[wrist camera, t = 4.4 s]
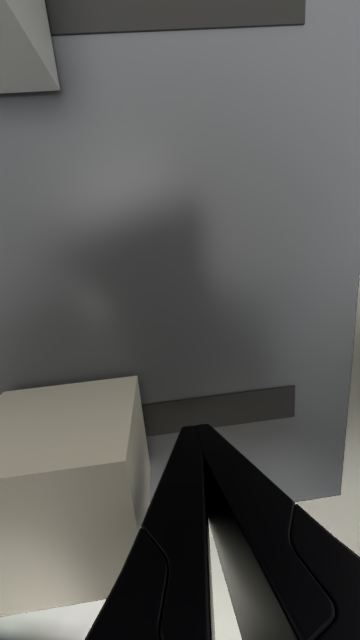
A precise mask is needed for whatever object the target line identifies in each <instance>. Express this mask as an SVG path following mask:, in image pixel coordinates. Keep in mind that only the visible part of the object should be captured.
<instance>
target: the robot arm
mask: <svg viewBox="0 0 360 640" xmlns="http://www.w3.org/2000/svg"><path fill="white" fill-rule="evenodd" d="M208 520H209V523H210V527H211V531H212V534H213V538H214V541H215V545H216V548H217V552H218V555H219V559H220V563H221V566H222V570H223V573H224V577H225V580H226V584H227V587H228V591H229V595H230V598H231V602H232V605H233V609H234V612H235V616H236V619H237V623H238V626H239V630H240V634H241V637H242V640H360V557H359V556H358V555H357V554H356V553H354V552H353V551H352V550H350V549H349V548H348V547H347V546H345V545H344V544H343V543H342V542H340V541H339V540H338V539H337V538H335V537H334V536H333V535H332V534H331V533H330V532H328V531H327V530H326V529H325V528H324V527H323V526H321V525H320V524H319V523H318V522H317V521H316V520H315V519H313V518H312V517H311V516H310V515H309V514H308V513H307V512H306V511H304V510H303V509H302V508H301V507H300V506H299V505H298V504H296V505H295V502H294V501H293V500H292V499H291V498H290V497H289V496H288V495H287V494H286V493H284V492H283V491H282V490H281V489H280V488H279V487H278V486H277V485H276V484H275V483H273V482H272V481H271V480H270V479H269V478H268V477H267V476H266V475H265V474H264V473H262V472H261V471H260V470H259V469H258V468H257V467H256V466H255V465H254V464H253V463H251V462H250V461H249V460H248V459H247V458H246V457H245V456H244V455H243V454H241V453H240V452H239V451H238V450H237V449H236V448H235V447H234V446H233V445H232V444H230V443H229V442H228V441H227V440H226V439H225V438H224V437H223V436H222V435H221V434H219V433H218V432H217V431H216V430H215V429H214V428H213V427H212V426H211V425H210V424H200V425H196V426H194V425H192V426H184V427H182V428H181V430H180V432H179V435H178V437H177V439H176V442H175V444H174V447H173V449H172V451H171V454H170V456H169V459H168V461H167V464H166V466H165V468H164V471H163V473H162V476H161V478H160V480H159V483H158V485H157V488H156V490H155V493H154V495H153V497H152V500H151V502H150V505H149V507H148V509H147V512H146V514H145V517H144V519H143V522H142V524H141V528H140V529H139V531H138V533H137V536H136V538H135V540H134V543H133V545H132V547H131V550H130V552H129V554H128V556H127V559H126V561H125V563H124V565H123V567H122V570H121V572H120V574H119V576H118V578H117V580H116V582H115V584H114V586H113V587H112V589H111V591H110V593H109V595H108V597H107V599H106V601H105V603H104V605H103V607H102V609H101V610H100V612H99V614H98V616H97V618H96V620H95V621H94V623H93V625H92V627H91V629H90V631H89V632H88V634H87V636H86V638H85V640H215V627H214V609H213V592H212V575H211V558H210V541H209V523H208Z"/></svg>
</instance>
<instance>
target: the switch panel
mask: <svg viewBox="0 0 360 640" xmlns="http://www.w3.org/2000/svg"><path fill="white" fill-rule="evenodd" d="M45 5H46V11H47V17H48V23H49V28H50V34H51V40H52V46H53V52H54V57H55V63H56V69H57V75H58V80H59V86H60V90H57V91H38V92H20V93H2V94H0V395H1V394H2V393H3V392H5V391H13V390H22V389H30V388H38V387H46V386H55V385H63V384H71V383H80V382H88V381H96V380H104V379H113V378H121V377H129V376H137V377H138V384H139V391H140V398H141V405H142V412H143V419H144V426H145V433H146V440H147V446H148V453H149V460H150V467H151V470H150V502H151V500H152V497H153V495H154V493H155V490H156V488H157V485H158V483H159V480H160V478H161V476H162V473H163V471H164V468H165V466H166V464H167V461H168V459H169V456H170V454H171V451H172V449H173V447H174V444H175V442H176V439H177V437H178V435H179V432H180V430H181V428H182V427H184V426H192V425H194V426H196V425H200V424H210V425H211V426H212V427H213V428H214V429H215V430H216V431H217V432H218V433H219V434H221V435H222V436H223V437H224V438H225V439H226V440H227V441H228V442H229V443H230V444H232V445H233V446H234V447H235V448H236V449H237V450H238V451H239V452H240V453H241V454H243V455H244V456H245V457H246V458H247V459H248V460H249V461H250V462H251V463H253V464H254V465H255V466H256V467H257V468H258V469H259V470H260V471H261V472H262V473H264V474H265V475H266V476H267V477H268V478H269V479H270V480H271V481H272V482H273V483H275V484H276V485H277V486H278V487H279V488H280V489H281V490H282V491H283V492H284V493H286V494H287V495H288V496H289V497H290V498H291V499H292V500H293V501H294V502H298V501H305V500H311V499H318V498H324V497H331V496H337V495H341V483H342V472H343V460H344V448H345V437H346V425H347V414H348V402H349V390H350V379H351V367H352V356H353V344H354V332H355V321H356V309H357V298H358V286H359V274H360V0H45Z"/></svg>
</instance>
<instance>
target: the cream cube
mask: <svg viewBox="0 0 360 640" xmlns="http://www.w3.org/2000/svg"><path fill="white" fill-rule="evenodd" d="M150 470H151V467H150V460H149V453H148V446H147V440H146V433H145V426H144V419H143V412H142V405H141V398H140V391H139V384H138V377H137V376H129V377H121V378H113V379H104V380H96V381H88V382H80V383H71V384H63V385H55V386H46V387H38V388H30V389H22V390H13V391H5V392H3V393H2V394H1V395H0V617H3V616H9V615H15V614H21V613H27V612H32V611H38V610H44V609H50V608H56V607H62V606H68V605H74V604H79V603H85V602H91V601H97V600H103V599H107V597H108V595H109V593H110V591H111V589H112V587H113V586H114V584H115V582H116V580H117V578H118V576H119V574H120V572H121V570H122V567H123V565H124V563H125V561H126V559H127V556H128V554H129V552H130V550H131V547H132V545H133V543H134V540H135V538H136V536H137V533H138V531H139V529H140V528H141V524H142V522H143V519H144V517H145V514H146V512H147V509H148V507H149V505H150Z"/></svg>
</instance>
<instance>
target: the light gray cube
mask: <svg viewBox="0 0 360 640" xmlns="http://www.w3.org/2000/svg"><path fill="white" fill-rule="evenodd" d="M57 90H60V86H59V80H58V75H57V69H56V63H55V57H54V52H53V46H52V40H51V34H50V28H49V23H48V17H47V11H46V5H45V0H0V94H2V93H20V92H38V91H57Z"/></svg>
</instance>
